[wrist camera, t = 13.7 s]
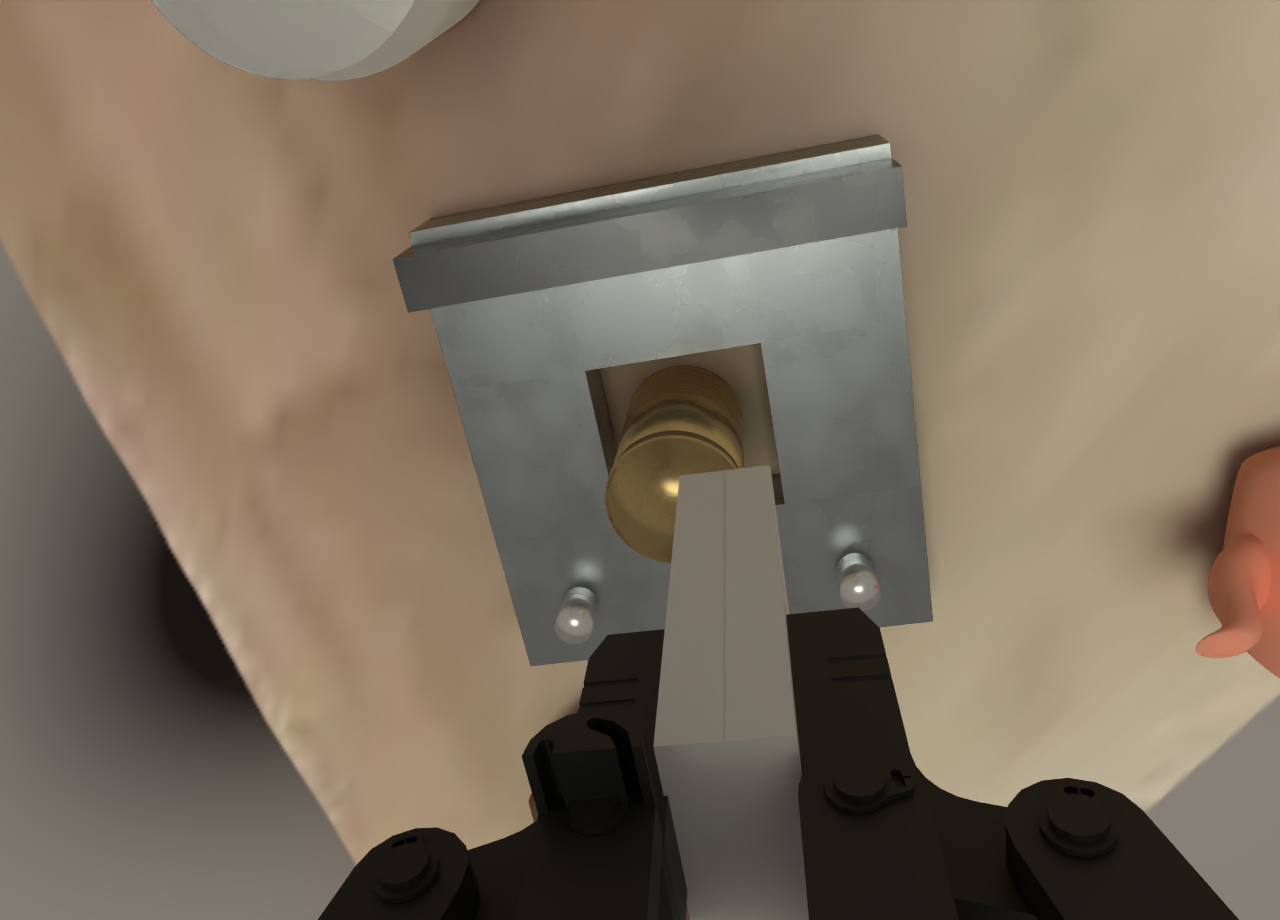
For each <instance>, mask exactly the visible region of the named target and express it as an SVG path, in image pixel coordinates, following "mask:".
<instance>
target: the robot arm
mask: <svg viewBox="0 0 1280 920" xmlns="http://www.w3.org/2000/svg"><path fill="white" fill-rule="evenodd" d="M522 759H523V762H524V766H525V769H526V773H527V777H528V780H529V784H530V787H531V791H532V794H533V798H534V802H535V805H536V809H537V812H538V817H537V821H536V822H534V823H533V824H531V825H530V826H528V827H526V828H525V829H523V830H522V831H520V832H517V833H515V834H513V835H510V836H508V837H506V838H503V839H500V840H497V841H494V842H491V843H488V844H485V845H482V846H479V847H476V848H473V849H470V850H467V848H466V846H465V844H464V843H463V842H462V841H461V840H460V839H459V838H458V837H457V836H456V834H454V833H451V832H449V831H446V830H443V829H440V828H415V829H412V830H409V831H406V832H403V833H400V834H397V835H394V836H392V837H390V838H389V839H387V840H385V841H384V842H382V843H381V844H379V845H377V846H376V847H374V848H373V849H371V850H370V851H369V852H368V853H367V854H366V856H365V857H364V858H363V859H362V860H361V861H360V862H359V863H358V864H357V865H356V866H355V867H354V869H353V870H352V872H351V873H350V875H349V876H348V878H347V879H346V880H345V882H344V883H343V885H342V886H341V887H340V889H339V890H338V892H337V893H336V895H335V896H334V897H333V899H332V900H331V902H330V903H329V904H328V906H327V908H326V909H325V911H324V912H323V913H322V914H321V916H320V917H319V919H318V920H686V909H688V914H689V919H690V920H1239V919H1238V918H1237V917H1236V916H1235V915H1234V914H1233V912H1232V911H1231V910H1230V909H1229V908H1228V907H1227V906H1226V904H1224V902H1223V901H1222V900H1221V899H1220V898H1219V896H1218V895H1217V894H1216V893H1215V892H1214V891H1213V890H1212V889H1211V887H1210V886H1209V885H1208V884H1207V883H1206V882H1205V881H1204V879H1203V878H1202V877H1201V876H1200V875H1199V874H1198V873H1197V872H1196V870H1195V869H1194V868H1193V867H1192V866H1191V865H1190V864H1189V862H1188V861H1187V860H1186V859H1185V858H1184V857H1183V856H1182V854H1181V853H1180V852H1179V851H1178V850H1177V849H1176V848H1175V847H1174V845H1173V844H1172V843H1171V842H1170V841H1169V840H1168V839H1167V837H1166V836H1165V835H1164V834H1163V833H1162V832H1161V831H1160V830H1159V828H1158V827H1157V826H1156V825H1155V824H1154V823H1153V821H1152V820H1151V819H1150V818H1149V817H1148V816H1147V815H1146V814H1145V812H1144V811H1143V810H1142V809H1140V808H1139V807H1138V806H1137V805H1135V804H1134V803H1133V802H1132V801H1131V800H1129V799H1128V798H1127V797H1126V796H1124V795H1123V794H1122V793H1119V792H1117V791H1115V790H1112V789H1110V788H1108V787H1106V786H1103V785H1101V784H1099V783H1096V782H1090V781H1084V780H1078V779H1072V778H1063V779H1053V780H1043V781H1040V782H1038V783H1036V784H1033V785H1031V786H1029V787H1027V788H1025V789H1022V790H1021V791H1020V792H1019V793H1018V794H1017V795H1016V797H1015V798H1014V799H1013V800H1012V801H1011V802H1010V804H1009V805H1008V807H1003V806H998V805H992V804H986V803H980V802H976V801H972V800H968V799H964V798H961V797H957V796H955V795H953V794H951V793H949V792H947V791H944V790H942V789H940V788H939V787H937V786H936V785H935V784H933V783H932V782H931V781H929V780H928V779H927V778H925V776H924V775H923V774H922V773H921V772H920V770H919V769H918V768H917V767H916V765H915V763H914V761H913V758H912V756H911V754H910V750H909V746H908V742H907V737H906V733H905V729H904V725H903V721H902V717H901V713H900V709H899V705H898V701H897V697H896V693H895V689H894V685H893V681H892V678H891V673H890V668H889V664H888V660H887V658H886V652H885V648H884V644H883V640H882V636H881V632H880V628H879V627H878V626H877V625H876V624H875V623H874V622H873V621H872V620H871V619H870V618H869V617H868V616H867V615H866V614H865V613H864V612H863V611H862V610H861V609H860V608H859V607H858V608H848V609H837V610H827V611H817V612H807V613H797V614H789V607H788V599H787V592H786V584H785V576H784V568H783V561H782V553H781V545H780V538H779V530H778V522H777V514H776V507H775V499H774V491H773V483H772V476H771V468H770V465H764V466H756V467H747V468H739V469H731V470H723V471H714V472H706V473H698V474H689V475H681V476H679V487H678V497H677V507H676V518H675V528H674V538H673V549H672V559H671V570H670V580H669V590H668V601H667V611H666V621H665V629H661V630H651V631H641V632H630V633H620V634H610V635H607V636H606V638H605V639H604V640H603V641H602V642H601V644H600V645H599V646H598V647H597V649H596V650H595V651H594V652H593V654H592V655H591V656H590V657H589V660H588V665H587V670H586V675H585V680H584V688H583V689H582V694H581V699H580V709H578V713H576V714H572V715H567V716H565V717H563V718H561V719H559V720H557V721H555V722H553V723H551V724H549V725H547V726H545V727H544V728H543V729H542V730H541V731H540V732H539V733H538V734H536V735H535V736H534V737H533V738H532V739H531V740H530V742H529V743H528V745H527V747H526V749H525V751H524V753H523V755H522Z"/></svg>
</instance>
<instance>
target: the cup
mask: <svg viewBox="0 0 1280 920" xmlns="http://www.w3.org/2000/svg"><path fill="white" fill-rule="evenodd" d="M151 1H152V2H153V3H154V4H155V6H156V7H157V8H158V10H159V11H160V12H161V13H162V14H163V15H164V16H165V17H166V19H167V20H168V21H169V22H170V23H171V24H172V25H173V26H174V27H175V28H176V29H177V30H179V31H180V32H181V33H182V34H183V35H184V36H185V37H186V38H188V39H189V40H190V41H191V42H193V43H194V44H195V45H196V46H198V47H199V48H201V49H202V50H204V51H205V52H207V53H208V54H210V55H212V56H213V57H215V58H217V59H219V60H221V61H223V62H224V63H227V64H229V65H231V66H234V67H236V68H238V69H241V70H244V71H247V72H250V73H253V74H257V75H262V76H266V77H272V78H281V79H311V80H321V81H343V80H352V79H357V78H362V77H366V76H369V75H372V74H375V73H378V72H381V71H384V70H386V69H388V68H390V67H392V66H394V65H396V64H398V63H400V62H402V61H403V60H405V59H406V58H408V57H409V56H411V55H412V54H414V53H415V52H417V51H418V50H420V49H421V48H423V47H424V46H425V45H427V44H428V43H430V42H431V41H432V40H434V39H435V38H437V37H438V36H439V35H441V34H442V33H444V32H445V31H446V30H448V29H449V28H451V27H452V26H453V25H455V24H456V23H458V22H459V21H460V20H462V19H463V18H464V17H465V16H467V15H468V14H469V13H470V12H471V11H472V10H473V8H474V7H475V6H476V5H477V3H478V2H479V1H480V0H151Z"/></svg>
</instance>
